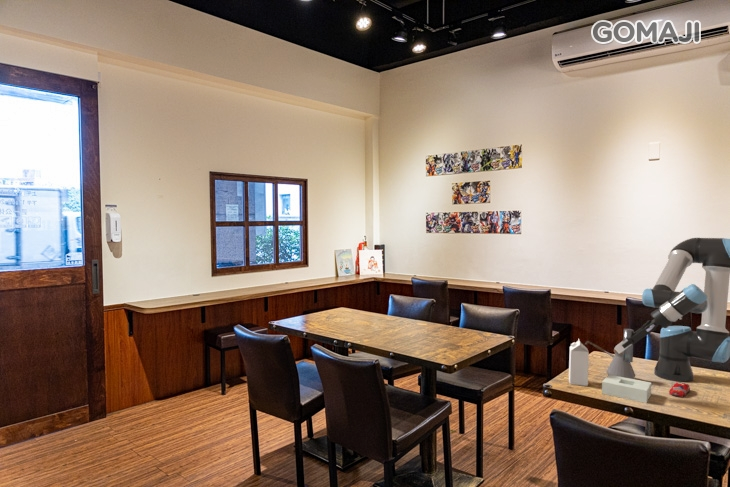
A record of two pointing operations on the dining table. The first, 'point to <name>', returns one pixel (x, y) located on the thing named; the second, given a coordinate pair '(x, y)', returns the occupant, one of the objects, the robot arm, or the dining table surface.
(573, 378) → the milk carton
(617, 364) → the coffee pot
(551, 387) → the dining table surface
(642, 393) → the hole block
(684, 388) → the race car
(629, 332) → the peg
